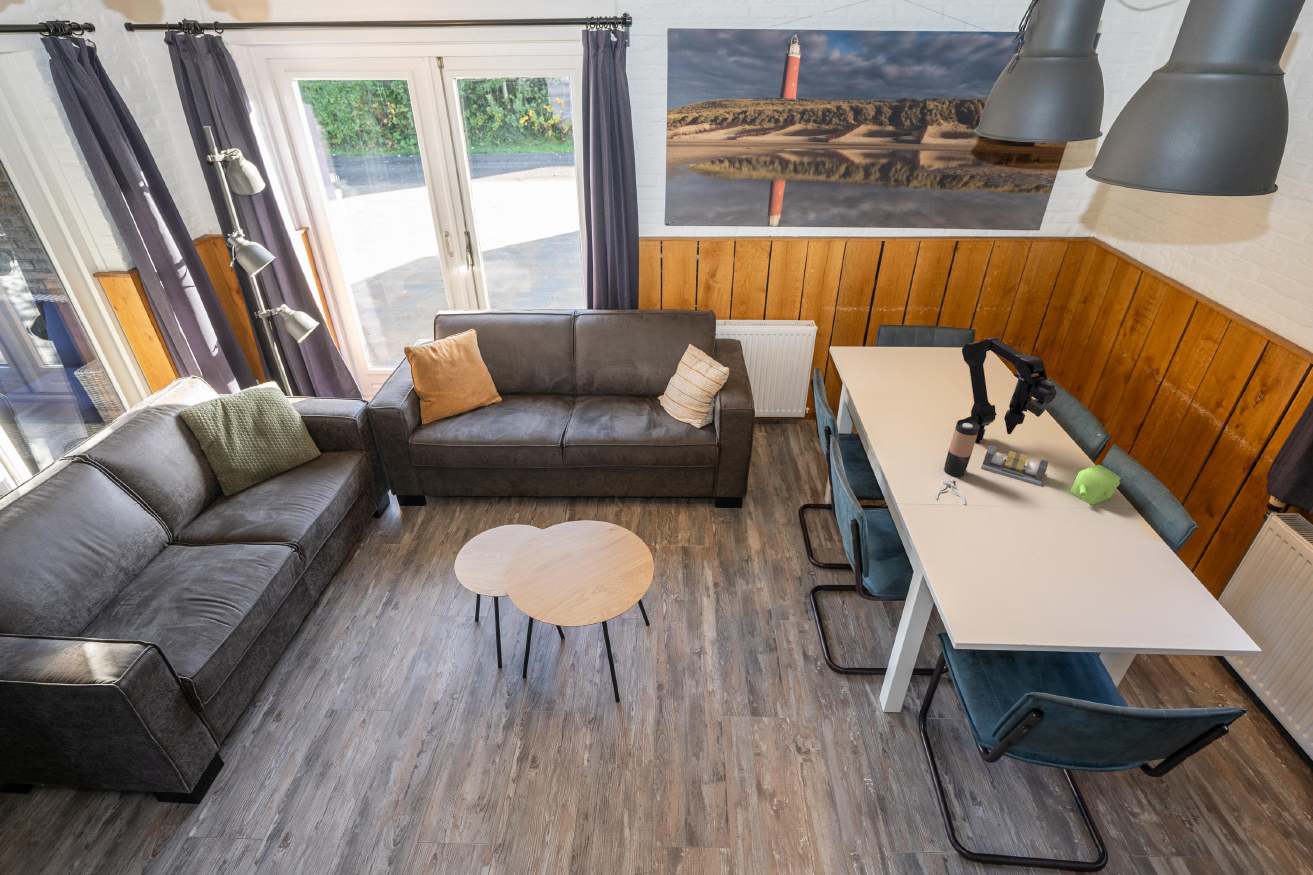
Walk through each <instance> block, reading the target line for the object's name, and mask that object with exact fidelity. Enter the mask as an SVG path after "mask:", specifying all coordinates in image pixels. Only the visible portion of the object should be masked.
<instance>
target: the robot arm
mask: <svg viewBox="0 0 1313 875" xmlns="http://www.w3.org/2000/svg"><path fill="white" fill-rule="evenodd" d="M987 352H993V353H994V354H996V355H997V356H999V357H1001V358H1002V359H1004V360H1006V361H1007V362H1009V363H1010V364H1012V365H1013V366H1014V368H1015V370H1016V371H1017V372H1015V373H1014V374H1013V377H1016V379H1017V378H1018V379H1017V381H1016V386H1015V387H1014V391H1013V394H1012V396H1011V397H1010V398H1011V399H1010V402H1009V405H1008V408H1009V409H1008V410H1006V412H1005V415H1004V417H1003V419H1004V422H1005V427H1006V434H1007V435H1011V434H1012V433H1013V431H1014V430H1015V428H1016V426H1018V425H1023V423H1024V421H1025V417H1026V414H1025V413H1024V412H1026V413H1027V412H1030V413H1031V414H1033V415H1035V416H1036V417H1037V418H1040V416H1041V415H1042V414H1044V412H1045V411H1046V409H1047V408H1046V404H1050V403H1051V402H1053V401H1054V400H1055V398H1056V396H1057V390H1056V389H1055V388H1056V385H1054V384H1053V383H1049V382H1047V381H1048V376H1047V375H1048V374H1047V372H1046V369H1045V363H1044V362H1045V361H1044V360H1043V359H1042V358H1039V357H1036V356H1034V355H1029V354H1025V353H1022V352H1021V351H1019V350H1018V349H1015V348H1014V347H1012V346H1010V344H1009V345H1008V344H1007V343H1006V342H1003V341H1002V340H1001V339H1000V338H998V337H989V338H986V339H984V340H982V341H976V342H970V343H966V344H964V346H963V347H962V348H961V354H962V358H963V361H964V362H965V363H966V364H967V366H968V368H969V375H970V381H971V390H972V398H973V405H972V407H971V409H970V416H968V417H965V418H964V419H966V420H971V421H974V422H976V423H977V424H979V426H980V427H979V431H978V434H977V438H976V441H975V443H976V444H980V443H981V441H983V439H984V436H985V433H986V428H985V427H986V426H990V424H992V423H994V421H995V420H996V416H997V412H996V405H995V404H992V403H990V402H989V398H988V397H989V396H988V389H987V383H986V382H987V381H986V376H985V375H986V374H985V368H984V364H985V361H986V359H987ZM1035 375H1036V376H1035Z"/></svg>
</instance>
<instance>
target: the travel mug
mask: <svg viewBox="0 0 1313 875" xmlns="http://www.w3.org/2000/svg"><path fill="white" fill-rule="evenodd" d="M979 427H980V426H979V424H977V423H976V422H974V421H971V420H966V419H965V418H963V419H959V420H957V421H956V425H955V429H954V431H953V434H952V438H951V441H950V444H949V447H948V451H947V455H946V459H945V462H944V467H943V471H944V472H945V473H946V474H947V475H948V476H950V477H953V478H954V477H955V478H961V477H963V476H964V475H965V473H966V471H967V469H968V465H969V463H970V459H971V458H972V454H973V450H974V447H975V441H976V438H977V434H978V431H979Z"/></svg>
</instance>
